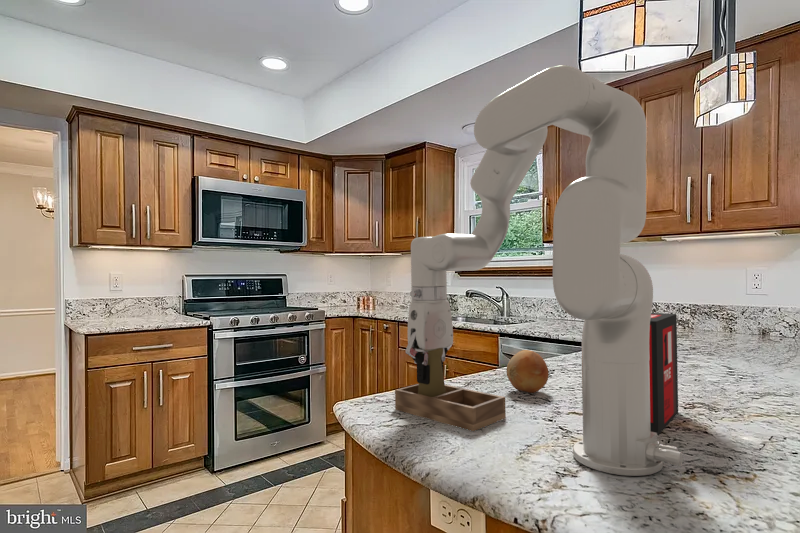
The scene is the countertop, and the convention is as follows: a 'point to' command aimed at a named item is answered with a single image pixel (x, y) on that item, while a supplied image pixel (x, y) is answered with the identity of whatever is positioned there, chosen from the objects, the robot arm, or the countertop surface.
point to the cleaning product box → (663, 370)
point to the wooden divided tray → (453, 406)
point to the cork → (433, 375)
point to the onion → (527, 371)
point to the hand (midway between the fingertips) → (430, 380)
